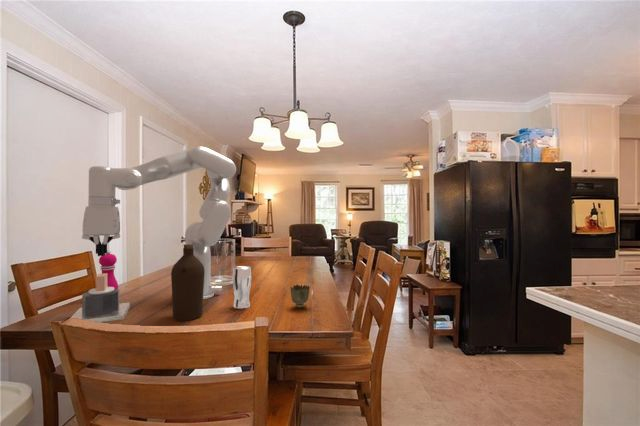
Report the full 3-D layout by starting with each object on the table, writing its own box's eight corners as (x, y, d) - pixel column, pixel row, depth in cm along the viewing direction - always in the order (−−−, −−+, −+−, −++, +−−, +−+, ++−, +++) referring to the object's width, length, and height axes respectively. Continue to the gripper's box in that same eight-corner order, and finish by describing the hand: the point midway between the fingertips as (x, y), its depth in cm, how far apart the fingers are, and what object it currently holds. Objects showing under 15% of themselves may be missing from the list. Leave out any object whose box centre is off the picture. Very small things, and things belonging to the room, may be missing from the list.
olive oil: (208, 317, 102) (209, 244, 102) (175, 324, 96) (175, 246, 96) (198, 309, 111) (199, 242, 110) (167, 315, 104) (168, 243, 104)
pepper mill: (107, 301, 118) (107, 251, 118) (92, 300, 120) (92, 250, 120) (122, 296, 126) (122, 249, 125) (108, 295, 127) (108, 248, 127)
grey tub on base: (129, 306, 113) (129, 285, 113) (123, 319, 100) (123, 295, 100) (80, 311, 106) (80, 289, 106) (66, 326, 93) (66, 300, 93)
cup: (298, 303, 119) (298, 283, 119) (313, 306, 115) (313, 286, 115) (286, 307, 113) (286, 286, 113) (301, 311, 109) (301, 290, 109)
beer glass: (254, 305, 116) (255, 266, 116) (242, 310, 110) (243, 269, 110) (240, 302, 119) (240, 265, 119) (228, 307, 113) (228, 268, 112)
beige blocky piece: (115, 295, 108) (116, 272, 108) (112, 300, 102) (112, 276, 101) (91, 297, 105) (91, 273, 105) (86, 303, 98) (86, 277, 98)
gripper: (129, 203, 109) (128, 253, 110) (78, 202, 103) (77, 255, 103) (126, 203, 103) (125, 256, 103) (71, 201, 96) (70, 258, 96)
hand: (101, 255), depth 103 cm, fingers closed
